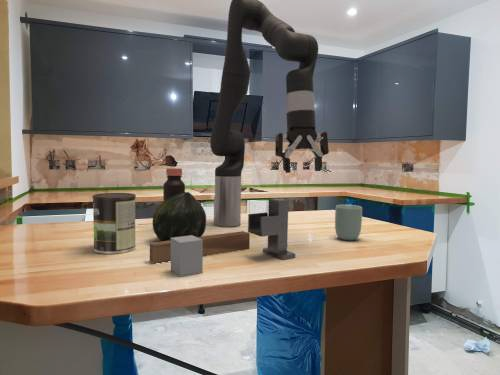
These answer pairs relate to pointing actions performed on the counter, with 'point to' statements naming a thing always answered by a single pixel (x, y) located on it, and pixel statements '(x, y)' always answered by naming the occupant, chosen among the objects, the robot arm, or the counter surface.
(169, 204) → the squash
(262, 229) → the bracket
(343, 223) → the cup
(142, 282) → the counter surface
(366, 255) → the counter surface
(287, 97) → the robot arm
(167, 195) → the bottle
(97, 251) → the coffee can
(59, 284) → the counter surface
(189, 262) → the rest block
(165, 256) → the rail
